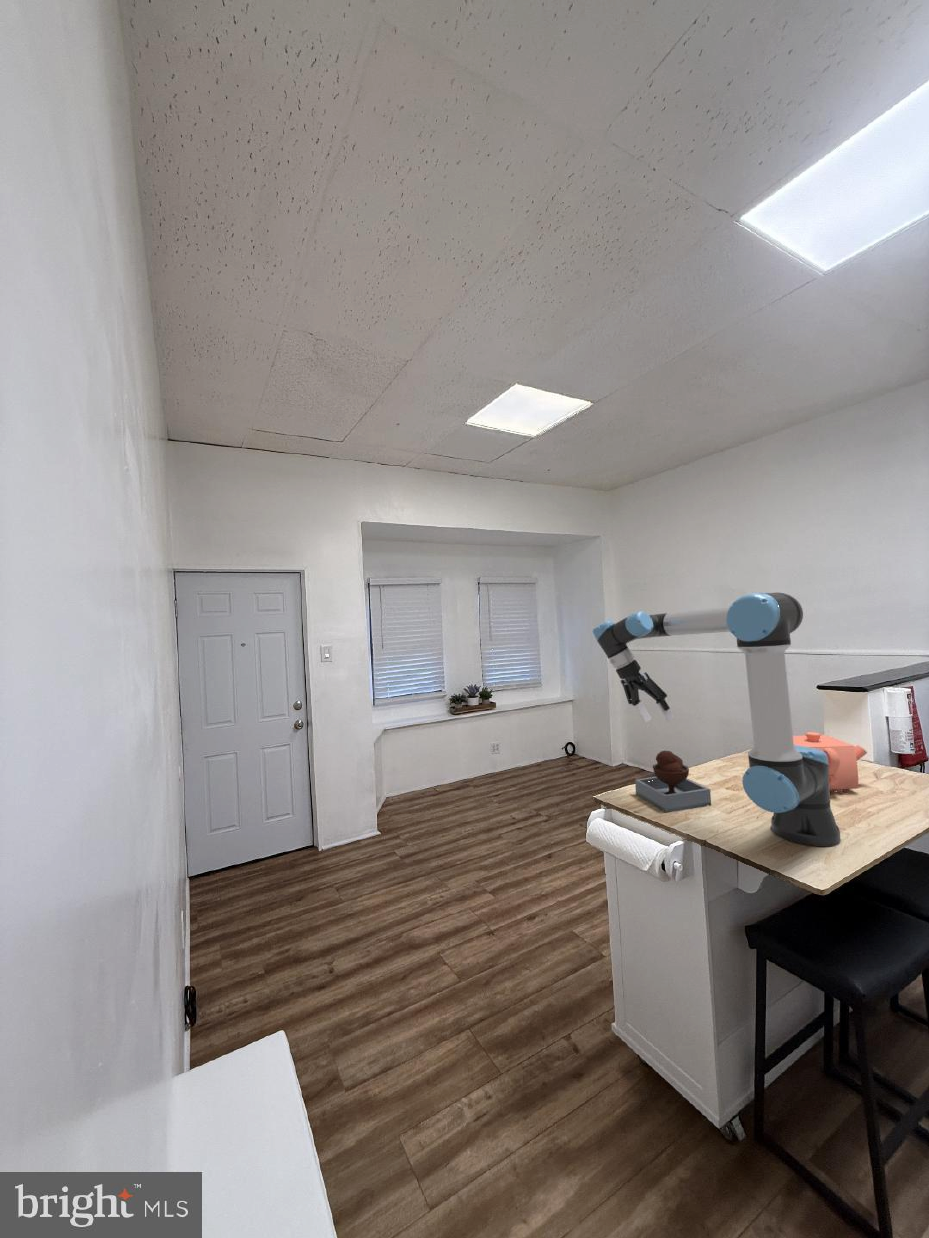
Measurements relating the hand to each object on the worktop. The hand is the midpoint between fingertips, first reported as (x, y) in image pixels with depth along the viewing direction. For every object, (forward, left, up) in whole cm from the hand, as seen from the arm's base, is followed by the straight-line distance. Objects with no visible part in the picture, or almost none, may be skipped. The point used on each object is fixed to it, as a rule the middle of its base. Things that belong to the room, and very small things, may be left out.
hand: (659, 720), depth 160 cm
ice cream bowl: (-4, -1, -24) cm, 25 cm away
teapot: (-11, -54, -25) cm, 60 cm away
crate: (-3, -1, -25) cm, 25 cm away
